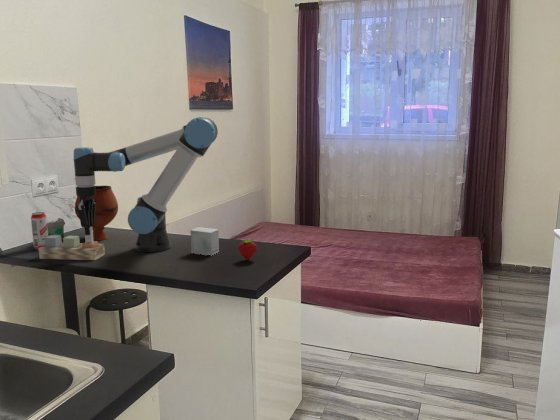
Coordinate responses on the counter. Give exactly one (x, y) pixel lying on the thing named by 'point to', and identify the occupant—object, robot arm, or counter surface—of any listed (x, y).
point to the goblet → (102, 210)
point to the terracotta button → (90, 245)
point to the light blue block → (53, 241)
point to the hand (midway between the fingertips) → (89, 242)
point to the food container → (56, 228)
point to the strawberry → (247, 249)
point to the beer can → (39, 229)
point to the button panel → (71, 252)
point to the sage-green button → (71, 241)
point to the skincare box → (204, 241)
